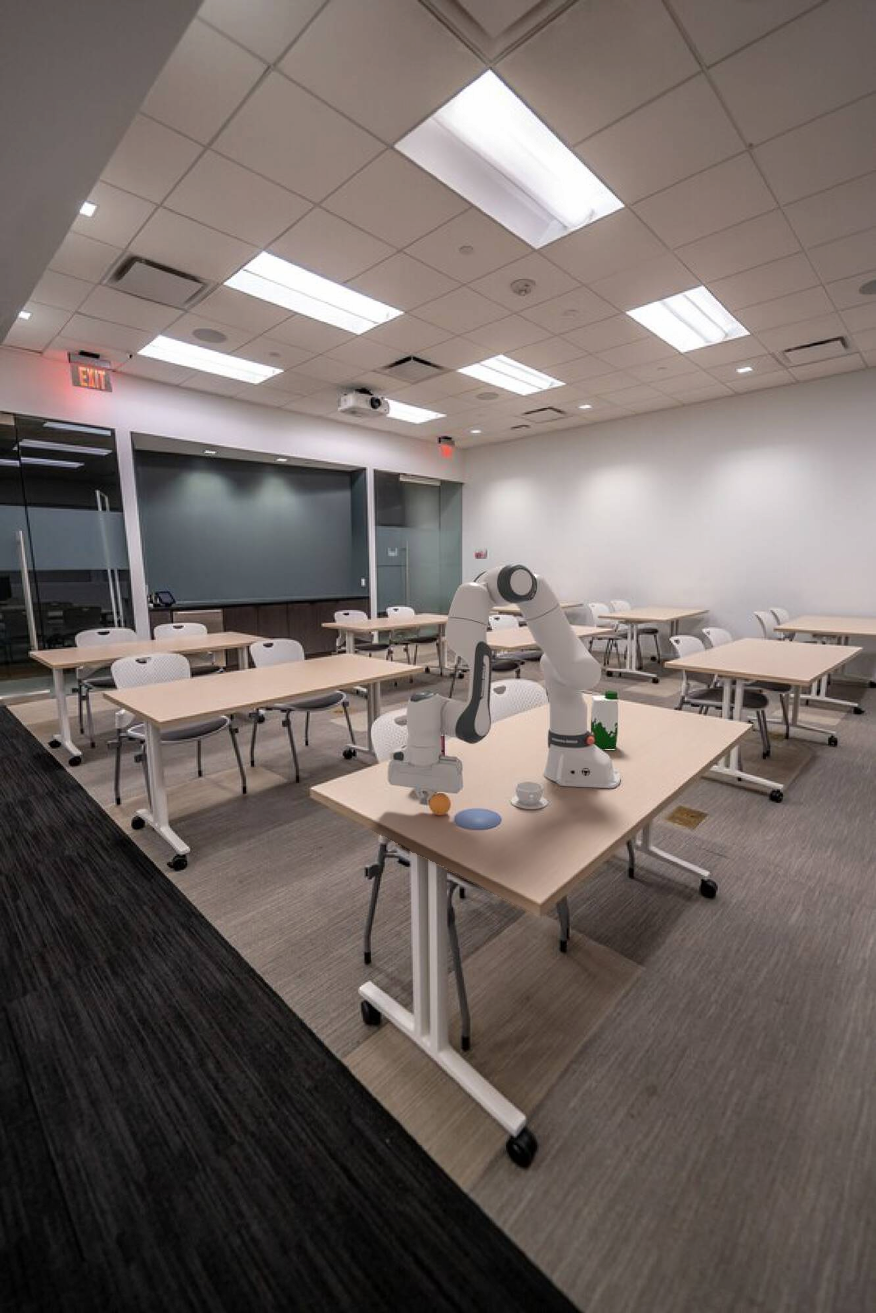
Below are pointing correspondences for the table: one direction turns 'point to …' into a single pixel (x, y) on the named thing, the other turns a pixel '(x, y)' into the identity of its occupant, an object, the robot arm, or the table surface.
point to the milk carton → (605, 720)
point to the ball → (440, 804)
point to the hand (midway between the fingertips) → (425, 804)
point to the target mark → (477, 819)
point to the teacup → (529, 796)
